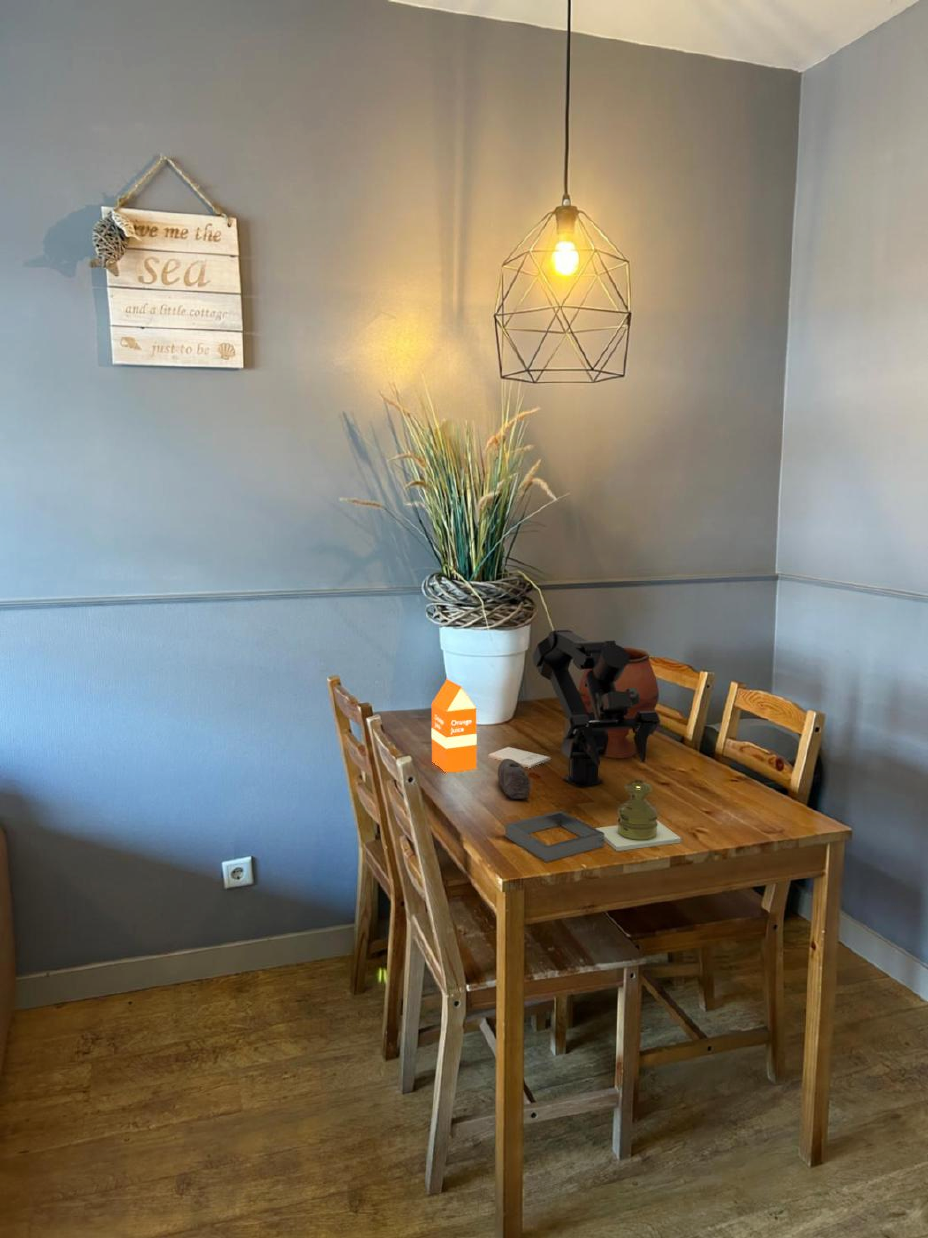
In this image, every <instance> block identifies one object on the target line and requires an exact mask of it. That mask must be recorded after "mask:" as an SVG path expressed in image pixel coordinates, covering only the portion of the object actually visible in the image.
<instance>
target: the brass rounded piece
mask: <svg viewBox="0 0 928 1238" xmlns="http://www.w3.org/2000/svg"><path fill="white" fill-rule="evenodd" d="M624 790H625V792H627V793H628V794H629V795H630V798H629V799H628V800H627V801H625V803H623V804H621V805H620V806H619V807H618V809H617V816H618V817H619V818H618V819H617V820H616V821H617V825H618V828H617V831H618V833H619V834H620V835H622V836H624V837H626V838H629V839H634V840H647V839H651V838H653V837H655V836H656V835H657V825H658V823H657V821H658V817H659V811H658V809H656V807H654V806H653V805H651V803H650V802H648V800H647V799H646V797H647V796H648V795H649V794H651V793H652V792H653V787H652V786H651V785H649V784H648V783H646V782H644V781H643V780H641V779H640V780H638V779H636V780H634V781H630V782H628V783H626V784H625V785H624Z"/></svg>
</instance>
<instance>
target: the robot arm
mask: <svg viewBox="0 0 928 1238" xmlns="http://www.w3.org/2000/svg"><path fill="white" fill-rule="evenodd" d="M624 648H625V647H622V646H621V645H619V644H616V640H604V641H603V640H588V639H585V638H584V637H581V636H580V635H577V634H575V633H574V631H572V630H569V629H555V630H552V631H549V632H548V635H547V637H546V638H544V639H543V640H542V641H540V642H539V643H537V645H536V647H535V649H534V652H533V656H532V661H533V665H534V667H536V669H537V671H538V673H539V675H540V676H541V677H543V678H545V679H547V680H548V681H550V683H551V686H552V688H553V690H554V692H555V695H556V696H557V699H558V702H559V704H560V706H561V709H562V712H563V713H564V717H566V721H565V724H564V726H563V735H564V738H563V739H562V742H561V743H560V744H561V745H560V747H561V753H562V754H563V755H564V756H565V757H566V758H567V759H568V776H563V777H562V779H563V781H566V782H568V783H569V784H572V785H573V786H576V787H578V788H586V787H589V786H594V785H599V784H604V780H603V779H601V778H599V767H600V765H601V758H600V757H606V756H605V754H606V749H607V744H608V739H609V738H608V737H609V736H608V733H607V730H606V729H623V728H632V729H631V730H632V733H633V734H634V736H633V741H634V744H635V747H636V751H637V755H638V758H639V759H640V760H639V761H640V762H641V763H642V764H644V763H645V761H646V755H647V754H646V753H647V745H648V744H647V742H648V738H649V737H650V735H653V734H654V733H655V731H656V729H657V728H658V727H659V724H660V723H661V719H660V715H659V713H658V712H657V711H655V710H654V711H638V713H637V715H636V716H635V718H628V719H625V718H624V715H627V713H628V708H632V705H636V704H638V703H639V702H640V698H639V693H638V690H637V688H628V689H626V691H623V692H620V691H617V689H616V685H615V681H617V680H618V679H619V678H620V676H621V675H622V673H623V671H624V670H625V668H626V666H627V665H628V663H629V659H630V657H629V654H628V652H626V650H625V649H624ZM571 662H572V663H573V665H574V666H575V667H576V668H577V669H578V670H581V671H582V670H585V669H591V670H590V671H589V672H588V673H587V675H586V677H585V682H584V686H585V687H587V688H588V692H589V696H590V700H591V706H590V708H591V711H593V712H589V713H588V711H587V709H586V707H585V705H584V703H583V701H582V698H581V696H580V694H579V692H578V691H579V689H578V688H577V685H576V684H575V682H574V680H573V677H572V674H571V672H570V666H571Z"/></svg>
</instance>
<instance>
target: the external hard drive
mask: <svg viewBox="0 0 928 1238" xmlns="http://www.w3.org/2000/svg"><path fill="white" fill-rule="evenodd" d="M490 758H493V759H492V760H494V759H497V760H496V761H498V760H501V761H502V760H504V759H511V760H514V761H516V762H518V763H519V764H520V765H522V766H523V768H525V767H528V768H527V769H529V768H531V767H533V766H535V765H538V766H540V765H542V764H541V763H543V764H545V763H544V762H546V761H548V760H550V759H551V757H550V756H547V755H543V754H538V753H534V752H530V751H526V750H522V749H518V748H514V747H510V746H507V747H504V748H502V749H499V750H496V751H494V752H491V753H488V759H490ZM501 761H500V762H501ZM550 761H551V760H550ZM548 762H549V761H548ZM546 763H547V762H546ZM539 764H540V765H539ZM531 769H532V768H531Z"/></svg>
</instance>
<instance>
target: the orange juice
mask: <svg viewBox="0 0 928 1238" xmlns="http://www.w3.org/2000/svg"><path fill="white" fill-rule="evenodd" d="M432 762H433V763H435V765H437V766H439V767H440V768H441V769H442V770H443V771H444V772H446V773H447V772H457V773H461V772H460V771H464V772H467V771H466V770H471V771H473V770H472V769H476V770H477V707H476V706H475V705H474V703H473V702H472V700H471V698H470V697H469V695H468V694H467V693H466V692H465V690H464V688H463V687H462V686H461V685H459V684H457V683H455V682H453V681H452V680H449V679H447V678H446V679H445V682H444V683H443V684H442V686H441V688H440V690H439V691H438V693H437V694H436V696H435V698H434V699H433V700H432V702H431V763H432ZM433 763H432V764H433ZM435 765H434V766H435ZM437 766H436V767H437ZM442 770H441V771H442ZM443 771H442V772H443ZM458 771H459V772H458ZM444 772H443V773H444ZM446 773H445V774H446Z"/></svg>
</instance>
